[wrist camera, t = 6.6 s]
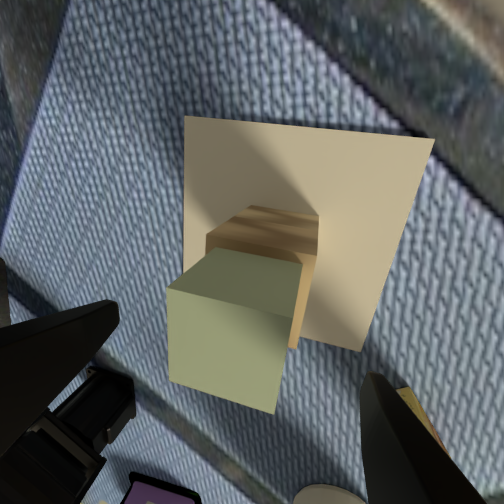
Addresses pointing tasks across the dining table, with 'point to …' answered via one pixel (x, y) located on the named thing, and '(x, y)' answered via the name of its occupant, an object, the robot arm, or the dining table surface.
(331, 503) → the bottle
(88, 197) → the dining table surface
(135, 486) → the miniature room corner
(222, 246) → the tower top block
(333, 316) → the felt mat
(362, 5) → the dining table surface
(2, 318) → the dark slate chunk
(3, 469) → the robot arm
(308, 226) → the tower base block
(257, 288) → the sage cube
